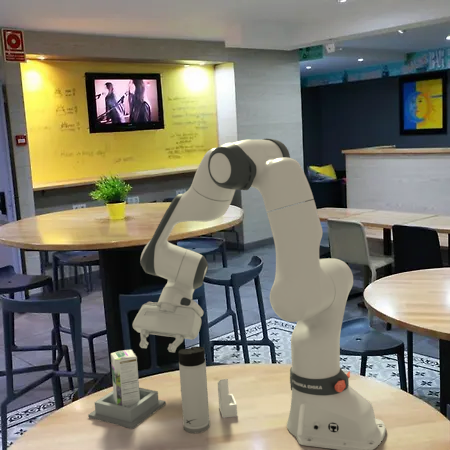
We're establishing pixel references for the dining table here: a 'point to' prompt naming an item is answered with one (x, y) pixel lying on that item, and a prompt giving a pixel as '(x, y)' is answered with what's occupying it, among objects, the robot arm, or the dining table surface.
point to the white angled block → (226, 400)
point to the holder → (127, 409)
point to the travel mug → (194, 389)
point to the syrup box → (125, 378)
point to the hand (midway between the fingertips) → (156, 349)
